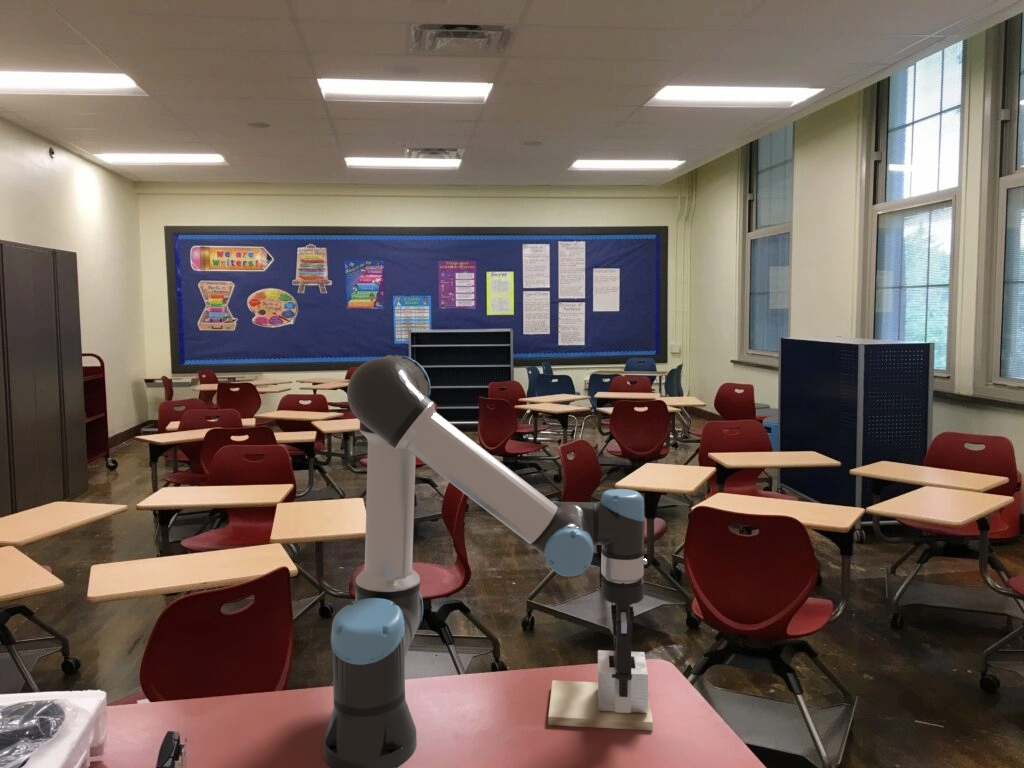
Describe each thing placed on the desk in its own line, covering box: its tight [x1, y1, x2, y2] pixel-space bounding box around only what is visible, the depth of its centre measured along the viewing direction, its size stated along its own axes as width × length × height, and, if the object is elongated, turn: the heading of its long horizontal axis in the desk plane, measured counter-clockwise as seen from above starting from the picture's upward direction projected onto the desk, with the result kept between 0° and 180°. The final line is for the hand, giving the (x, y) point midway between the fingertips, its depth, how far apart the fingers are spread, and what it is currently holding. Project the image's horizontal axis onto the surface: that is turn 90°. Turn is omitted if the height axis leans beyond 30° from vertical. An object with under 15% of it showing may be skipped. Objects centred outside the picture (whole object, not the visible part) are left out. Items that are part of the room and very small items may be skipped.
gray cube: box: [597, 649, 649, 713], centre depth 131 cm, size 9×9×7 cm
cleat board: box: [547, 650, 654, 731], centre depth 131 cm, size 18×13×12 cm
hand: (621, 697), depth 131 cm, fingers closed on gray cube, 9 cm apart
